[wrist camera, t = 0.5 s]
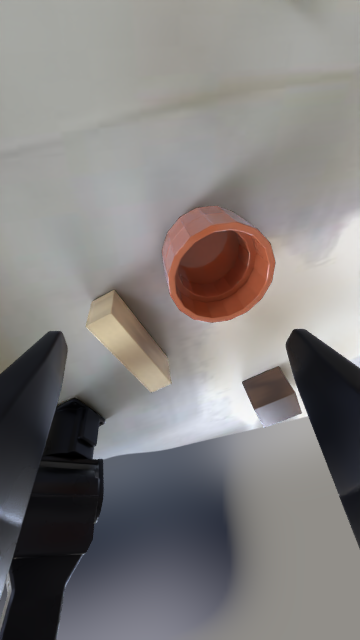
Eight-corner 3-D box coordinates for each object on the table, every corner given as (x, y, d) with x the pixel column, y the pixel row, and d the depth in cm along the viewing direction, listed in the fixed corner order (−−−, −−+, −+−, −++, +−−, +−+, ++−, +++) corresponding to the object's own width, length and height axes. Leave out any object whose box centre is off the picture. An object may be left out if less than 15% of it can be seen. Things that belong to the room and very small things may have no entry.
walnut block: (251, 400, 38) (264, 428, 34) (241, 381, 35) (254, 409, 31) (285, 386, 37) (302, 413, 34) (278, 366, 34) (295, 392, 30)
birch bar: (168, 357, 30) (172, 383, 27) (149, 366, 30) (151, 393, 27) (114, 289, 23) (111, 312, 20) (91, 301, 24) (85, 326, 21)
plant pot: (184, 302, 26) (195, 336, 21) (145, 234, 21) (147, 259, 16) (256, 266, 24) (284, 294, 20) (231, 185, 20) (259, 198, 15)
